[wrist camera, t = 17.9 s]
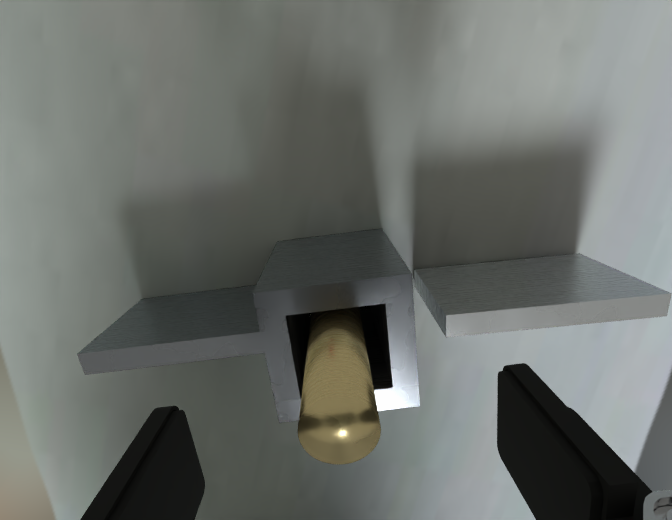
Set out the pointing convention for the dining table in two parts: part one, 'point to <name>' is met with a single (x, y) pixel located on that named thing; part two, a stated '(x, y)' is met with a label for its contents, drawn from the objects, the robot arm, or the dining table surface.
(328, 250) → the hinge base
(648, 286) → the loose leaf
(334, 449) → the hinge pin
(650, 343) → the dining table surface
